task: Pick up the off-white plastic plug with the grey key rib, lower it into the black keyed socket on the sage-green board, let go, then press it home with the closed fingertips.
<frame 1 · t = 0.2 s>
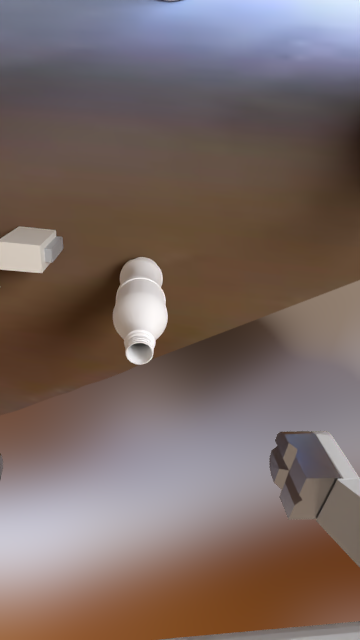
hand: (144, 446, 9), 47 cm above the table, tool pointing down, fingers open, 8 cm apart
keyed plug: (38, 240, 52), on the table
water bottle: (141, 272, 57), on the table
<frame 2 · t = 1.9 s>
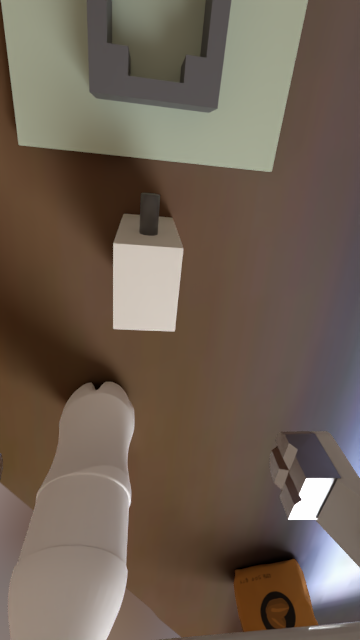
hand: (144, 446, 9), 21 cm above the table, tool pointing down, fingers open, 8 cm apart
keyed plug: (146, 249, 27), on the table
water bottle: (102, 397, 35), on the table
coffee package: (264, 568, 58), on the table
socket board: (158, 18, 20), on the table
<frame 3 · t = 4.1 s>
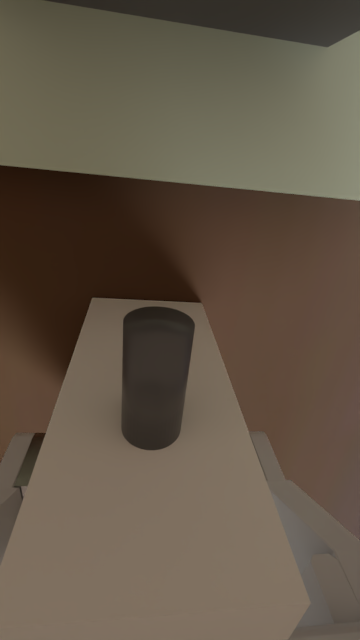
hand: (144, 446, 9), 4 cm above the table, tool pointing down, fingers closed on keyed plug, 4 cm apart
keyed plug: (144, 362, 13), on the table, touching gripper
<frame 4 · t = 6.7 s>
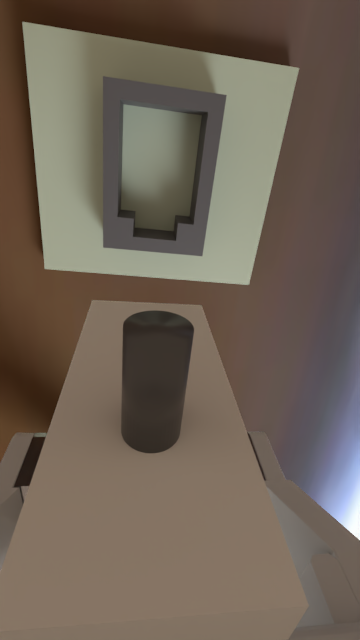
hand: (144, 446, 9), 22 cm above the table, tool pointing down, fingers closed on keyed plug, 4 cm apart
keyed plug: (144, 364, 13), point 18 cm above the table, touching gripper
socket board: (157, 177, 26), on the table
when the fingers open (7 cm above the table, at t = 9.7 s): keyed plug stays where it is, resting on socket board.
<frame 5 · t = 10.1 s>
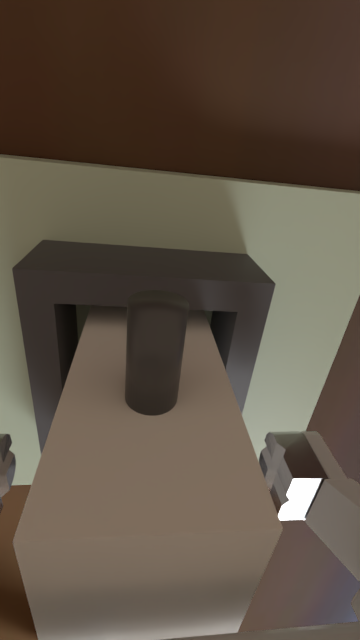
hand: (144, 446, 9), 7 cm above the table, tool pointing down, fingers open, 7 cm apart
keyed plug: (144, 350, 14), point 1 cm above the table, touching socket board
socket board: (143, 349, 16), on the table
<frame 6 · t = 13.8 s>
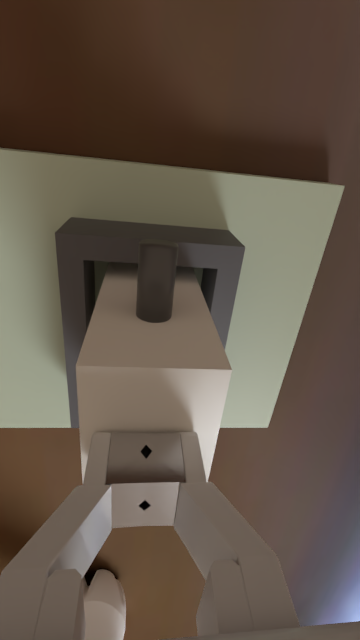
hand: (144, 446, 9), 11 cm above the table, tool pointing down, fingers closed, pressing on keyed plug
keyed plug: (148, 309, 17), point 2 cm above the table, touching gripper, socket board
water bottle: (93, 578, 34), on the table
socket board: (146, 312, 19), on the table
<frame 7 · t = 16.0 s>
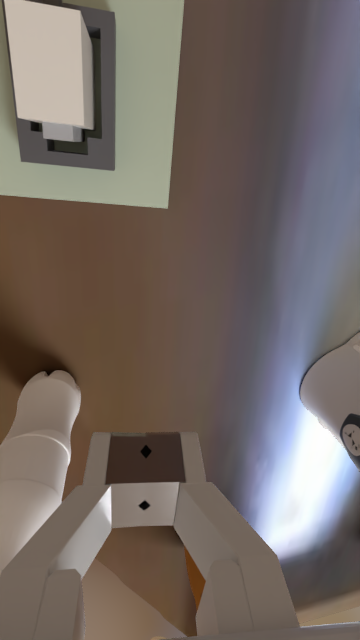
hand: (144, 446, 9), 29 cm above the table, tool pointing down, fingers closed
keyed plug: (70, 89, 27), point 1 cm above the table, touching socket board
water bottle: (55, 383, 43), on the table
coffee package: (212, 532, 67), on the table
socket board: (73, 104, 29), on the table
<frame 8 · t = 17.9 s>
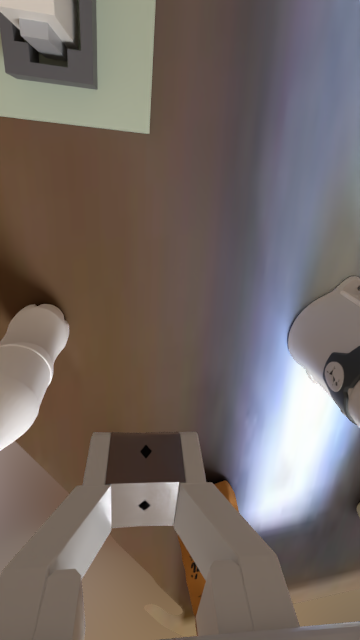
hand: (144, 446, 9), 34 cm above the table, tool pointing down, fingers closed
keyed plug: (53, 5, 28), point 1 cm above the table, touching socket board
water bottle: (46, 320, 45), on the table
coffee package: (203, 492, 67), on the table
socket board: (57, 24, 30), on the table
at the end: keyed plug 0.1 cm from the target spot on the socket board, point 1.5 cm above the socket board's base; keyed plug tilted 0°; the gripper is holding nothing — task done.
